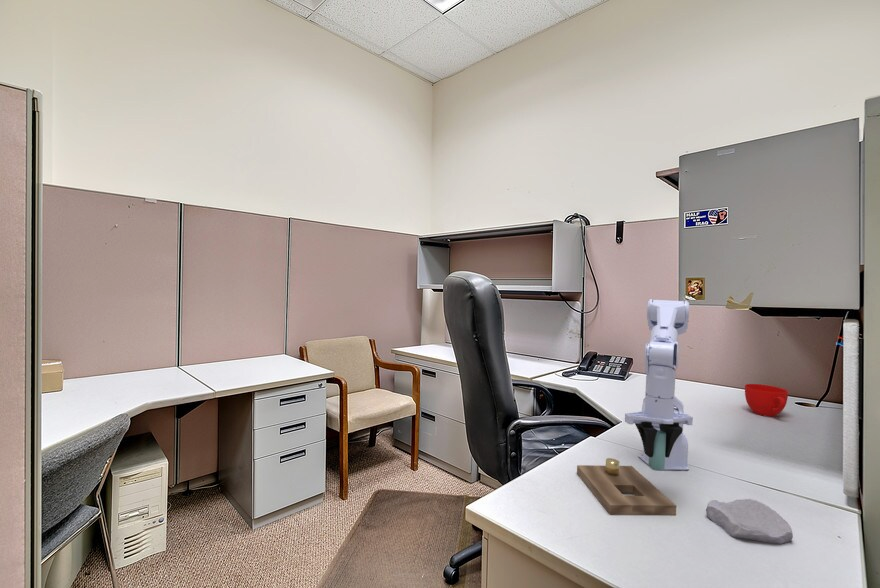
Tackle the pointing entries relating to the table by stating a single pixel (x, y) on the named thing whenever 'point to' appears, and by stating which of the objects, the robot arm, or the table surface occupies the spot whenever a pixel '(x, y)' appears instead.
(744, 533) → the stone block
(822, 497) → the table surface
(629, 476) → the pin board
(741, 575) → the table surface
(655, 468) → the teal pin
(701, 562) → the table surface
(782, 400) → the ceramic cup
